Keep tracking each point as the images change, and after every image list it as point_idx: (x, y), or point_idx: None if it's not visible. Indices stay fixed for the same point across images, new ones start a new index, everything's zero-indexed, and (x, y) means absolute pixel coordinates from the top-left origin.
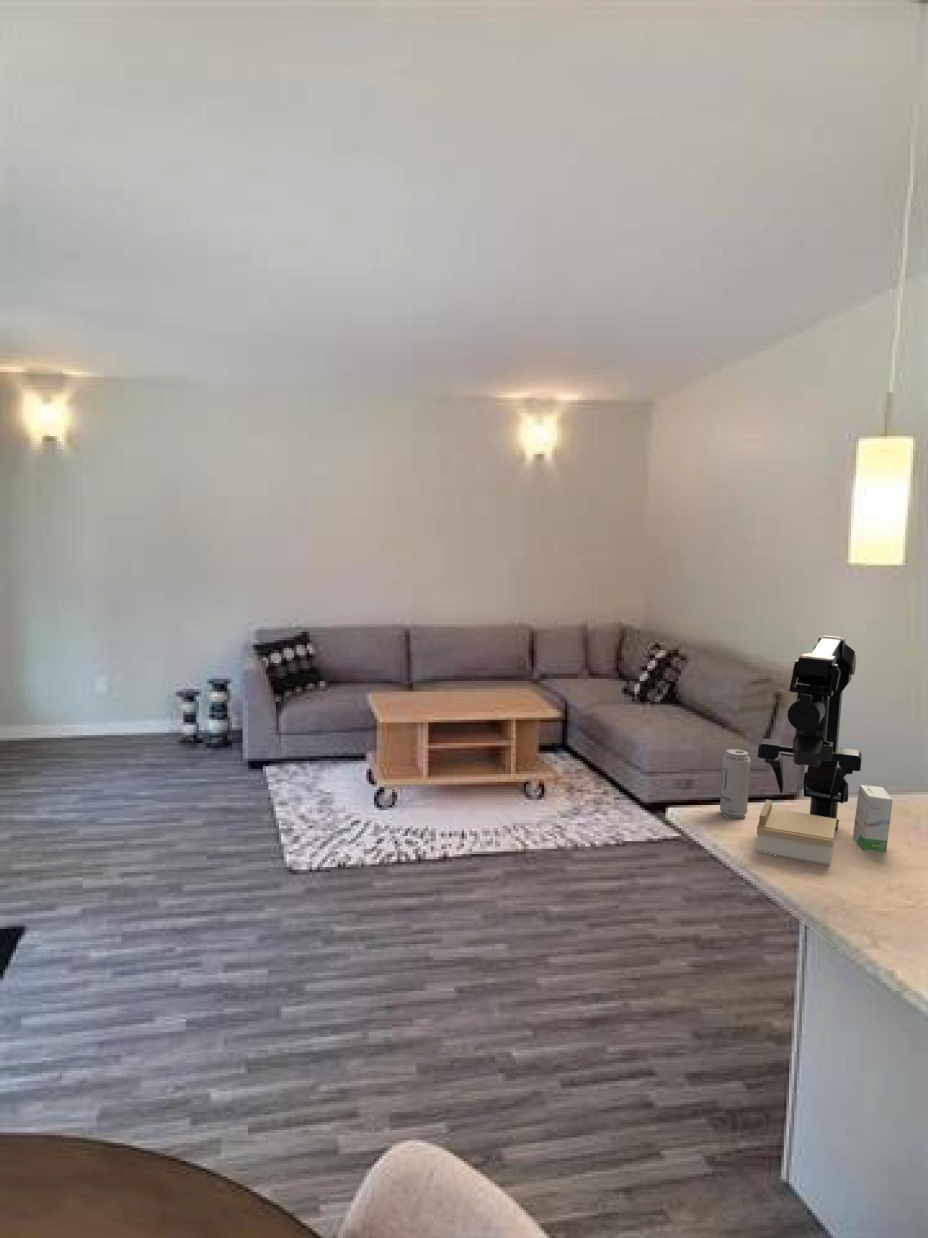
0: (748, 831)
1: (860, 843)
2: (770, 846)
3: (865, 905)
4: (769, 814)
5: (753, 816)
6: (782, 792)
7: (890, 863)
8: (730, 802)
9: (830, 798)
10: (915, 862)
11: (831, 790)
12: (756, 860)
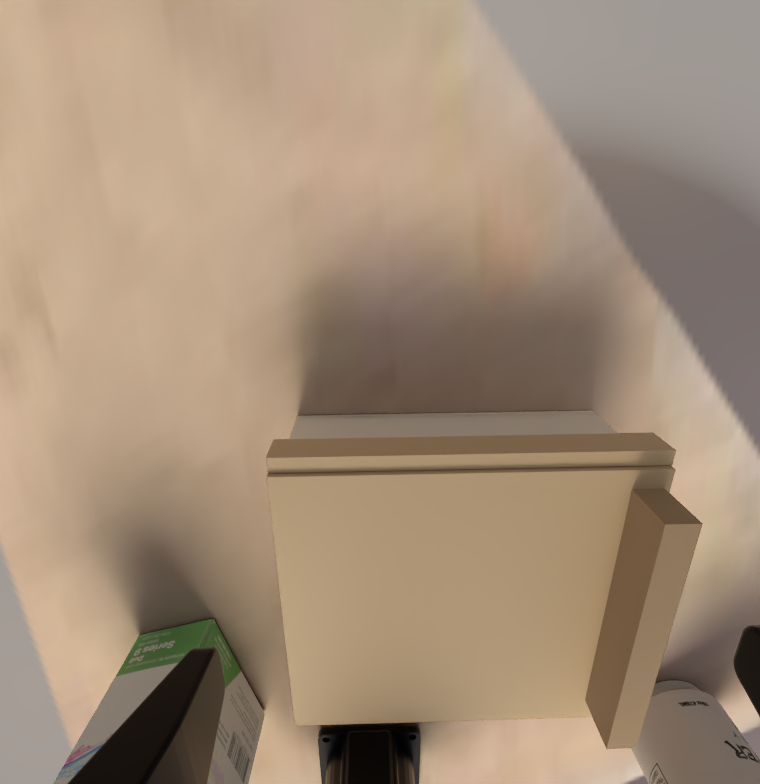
0: None
1: (223, 652)
2: (553, 429)
3: (66, 9)
4: (599, 639)
5: (593, 722)
6: (746, 640)
7: (101, 554)
8: (723, 739)
9: (202, 663)
10: (30, 601)
11: (144, 780)
12: (595, 328)
